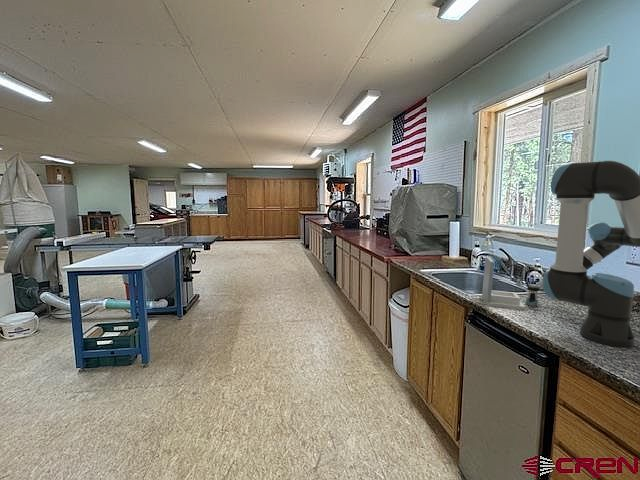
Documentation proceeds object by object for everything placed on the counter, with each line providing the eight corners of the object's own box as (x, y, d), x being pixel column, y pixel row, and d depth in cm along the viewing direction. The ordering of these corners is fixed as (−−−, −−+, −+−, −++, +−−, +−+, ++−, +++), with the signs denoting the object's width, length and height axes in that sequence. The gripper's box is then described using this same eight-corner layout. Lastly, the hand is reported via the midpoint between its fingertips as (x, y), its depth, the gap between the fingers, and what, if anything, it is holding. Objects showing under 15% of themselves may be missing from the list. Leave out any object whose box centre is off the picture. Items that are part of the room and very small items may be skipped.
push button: (540, 304, 162) (542, 285, 161) (542, 307, 158) (544, 287, 157) (524, 302, 165) (526, 283, 164) (525, 305, 161) (527, 285, 160)
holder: (524, 309, 153) (529, 264, 151) (486, 305, 158) (490, 261, 156) (516, 299, 170) (520, 258, 168) (482, 296, 175) (485, 256, 173)
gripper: (605, 269, 141) (561, 299, 148) (582, 260, 164) (544, 287, 171) (592, 256, 142) (548, 287, 149) (570, 249, 166) (533, 276, 172)
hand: (546, 287), depth 160 cm, fingers open, 13 cm apart
